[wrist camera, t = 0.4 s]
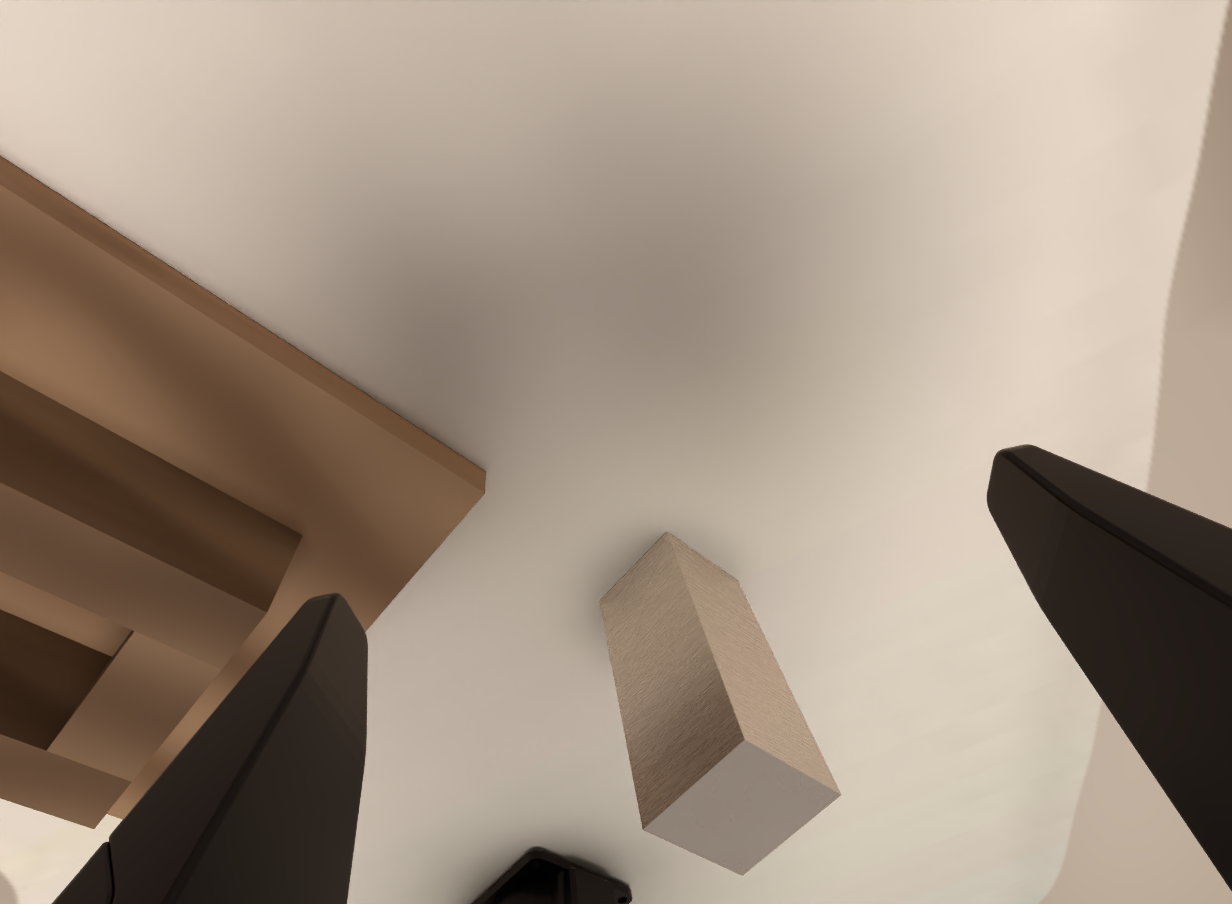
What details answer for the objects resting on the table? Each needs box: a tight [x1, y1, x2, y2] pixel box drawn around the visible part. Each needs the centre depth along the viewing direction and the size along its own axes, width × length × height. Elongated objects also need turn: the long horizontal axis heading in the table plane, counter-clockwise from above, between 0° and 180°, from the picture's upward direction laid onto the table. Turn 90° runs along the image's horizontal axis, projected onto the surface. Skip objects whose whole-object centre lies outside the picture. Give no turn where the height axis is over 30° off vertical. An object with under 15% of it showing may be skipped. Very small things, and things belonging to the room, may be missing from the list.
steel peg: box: [599, 532, 841, 875], centre depth 24 cm, size 4×4×10 cm
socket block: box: [0, 156, 486, 829], centre depth 22 cm, size 20×18×6 cm
